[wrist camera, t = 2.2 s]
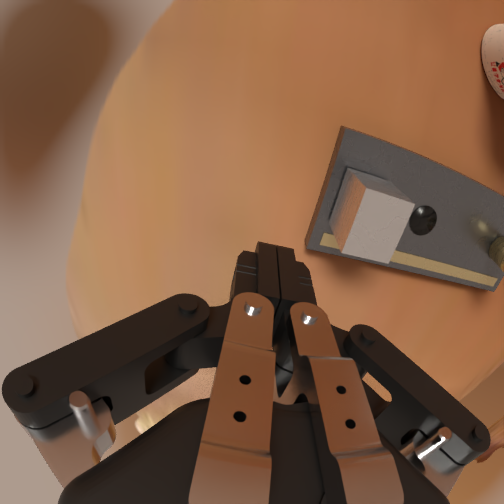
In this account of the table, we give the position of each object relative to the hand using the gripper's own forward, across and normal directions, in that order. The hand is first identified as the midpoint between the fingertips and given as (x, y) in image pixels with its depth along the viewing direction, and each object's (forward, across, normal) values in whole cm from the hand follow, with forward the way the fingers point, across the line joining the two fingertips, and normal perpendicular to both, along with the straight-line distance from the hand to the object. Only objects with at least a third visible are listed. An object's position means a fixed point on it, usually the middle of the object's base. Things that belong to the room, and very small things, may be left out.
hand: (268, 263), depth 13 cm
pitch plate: (+14, -18, 0) cm, 23 cm away
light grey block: (+12, -8, 0) cm, 15 cm away
